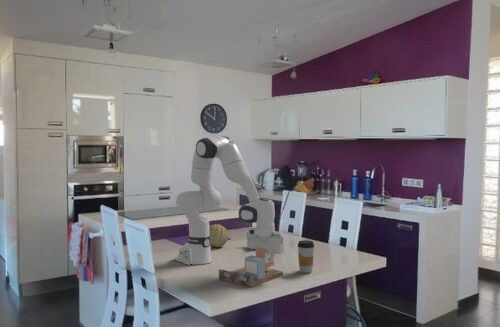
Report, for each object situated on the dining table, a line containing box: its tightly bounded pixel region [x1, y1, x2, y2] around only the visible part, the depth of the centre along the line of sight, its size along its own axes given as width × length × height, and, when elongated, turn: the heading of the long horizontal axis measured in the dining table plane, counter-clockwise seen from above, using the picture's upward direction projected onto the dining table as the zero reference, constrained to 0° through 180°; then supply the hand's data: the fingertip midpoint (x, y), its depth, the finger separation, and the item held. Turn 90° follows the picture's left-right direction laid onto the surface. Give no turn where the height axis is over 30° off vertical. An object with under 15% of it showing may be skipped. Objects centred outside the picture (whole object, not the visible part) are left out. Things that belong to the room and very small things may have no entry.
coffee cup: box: [297, 239, 315, 274], centre depth 212 cm, size 8×8×15 cm
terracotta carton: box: [255, 248, 275, 268], centre depth 205 cm, size 5×8×9 cm, turn 141°
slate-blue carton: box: [244, 255, 265, 280], centre depth 195 cm, size 5×8×9 cm, turn 50°
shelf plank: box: [218, 266, 284, 288], centre depth 202 cm, size 20×24×4 cm
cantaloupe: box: [209, 222, 229, 248], centre depth 268 cm, size 15×15×15 cm
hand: (265, 259), depth 205 cm, fingers closed on terracotta carton, 5 cm apart
